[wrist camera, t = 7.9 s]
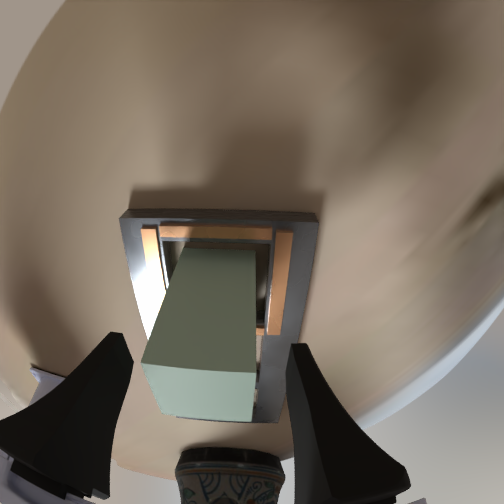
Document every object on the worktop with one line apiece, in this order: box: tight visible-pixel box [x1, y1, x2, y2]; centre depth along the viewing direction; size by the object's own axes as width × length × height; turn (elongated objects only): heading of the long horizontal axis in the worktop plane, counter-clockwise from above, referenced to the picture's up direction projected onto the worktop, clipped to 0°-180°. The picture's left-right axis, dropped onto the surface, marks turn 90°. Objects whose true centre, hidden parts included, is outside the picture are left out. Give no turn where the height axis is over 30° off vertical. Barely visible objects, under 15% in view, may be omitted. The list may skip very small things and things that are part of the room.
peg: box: [141, 248, 256, 422], centre depth 13 cm, size 4×4×8 cm
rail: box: [119, 209, 319, 423], centre depth 19 cm, size 21×10×1 cm, turn 178°
